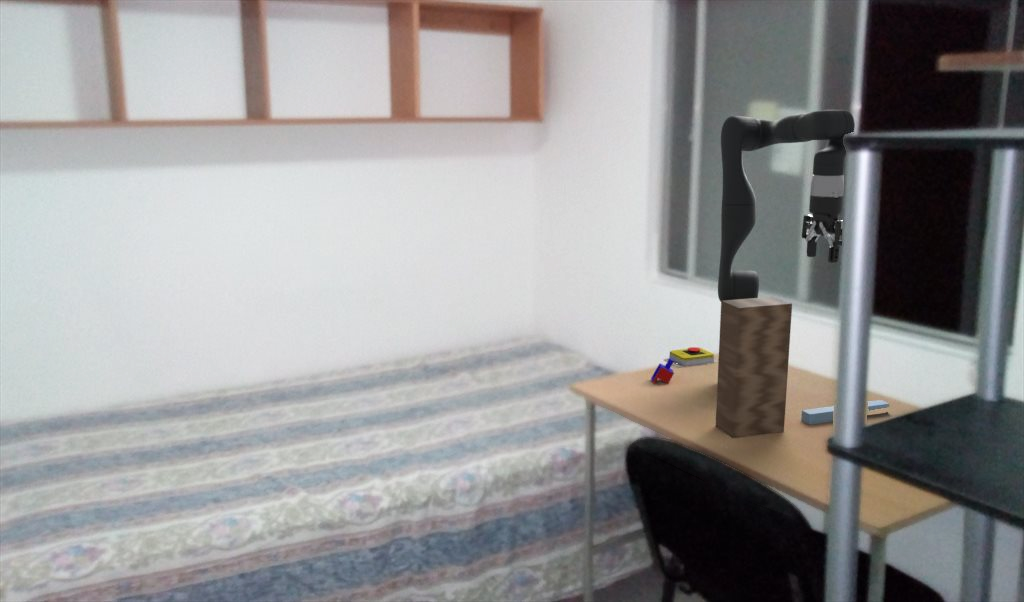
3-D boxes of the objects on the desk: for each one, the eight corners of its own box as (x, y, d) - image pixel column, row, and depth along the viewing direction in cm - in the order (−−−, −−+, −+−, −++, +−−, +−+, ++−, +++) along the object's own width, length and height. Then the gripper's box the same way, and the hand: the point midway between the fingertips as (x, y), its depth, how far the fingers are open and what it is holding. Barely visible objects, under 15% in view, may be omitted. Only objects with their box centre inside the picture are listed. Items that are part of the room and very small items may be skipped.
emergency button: (719, 350, 251) (678, 355, 246) (719, 363, 252) (677, 369, 247) (703, 342, 259) (662, 347, 254) (702, 355, 260) (662, 361, 255)
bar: (879, 410, 209) (880, 399, 209) (888, 414, 207) (889, 403, 206) (801, 421, 203) (802, 410, 202) (808, 425, 200) (809, 414, 199)
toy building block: (665, 388, 232) (678, 365, 231) (652, 382, 232) (665, 358, 231) (663, 384, 236) (677, 361, 234) (650, 378, 236) (664, 354, 234)
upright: (765, 420, 203) (772, 296, 196) (783, 431, 195) (792, 303, 188) (715, 426, 199) (721, 300, 192) (732, 438, 192) (738, 307, 185)
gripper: (795, 192, 201) (791, 255, 205) (832, 196, 188) (827, 265, 191) (821, 191, 203) (817, 254, 207) (859, 195, 190) (853, 263, 193)
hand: (821, 259), depth 199 cm, fingers open, 8 cm apart
